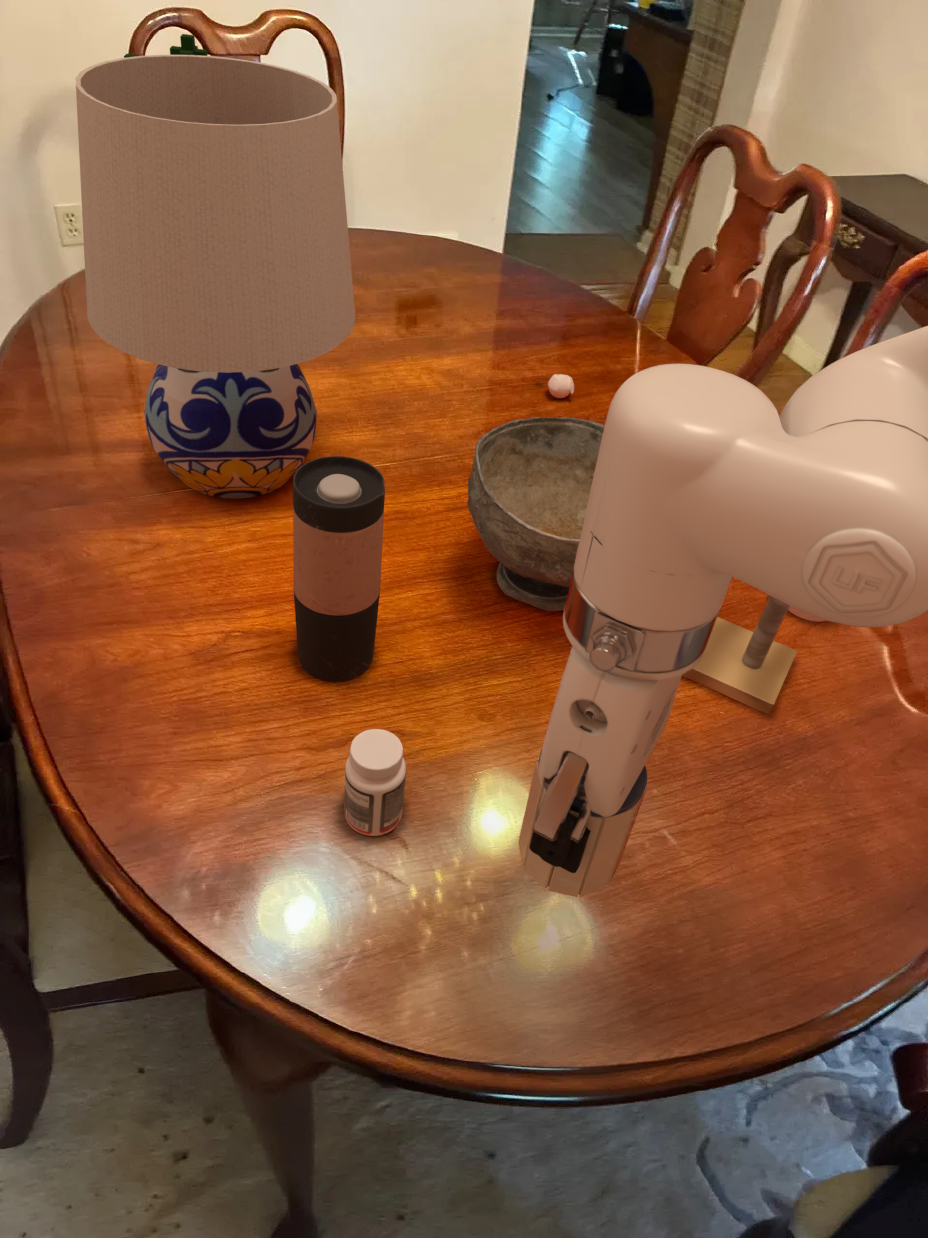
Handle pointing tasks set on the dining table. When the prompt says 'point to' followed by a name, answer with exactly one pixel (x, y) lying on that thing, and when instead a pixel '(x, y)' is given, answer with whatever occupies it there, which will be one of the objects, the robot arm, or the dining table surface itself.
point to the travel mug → (337, 564)
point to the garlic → (561, 385)
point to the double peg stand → (747, 659)
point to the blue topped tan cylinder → (600, 847)
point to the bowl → (534, 502)
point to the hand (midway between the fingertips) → (579, 814)
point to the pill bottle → (374, 782)
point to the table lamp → (216, 253)
